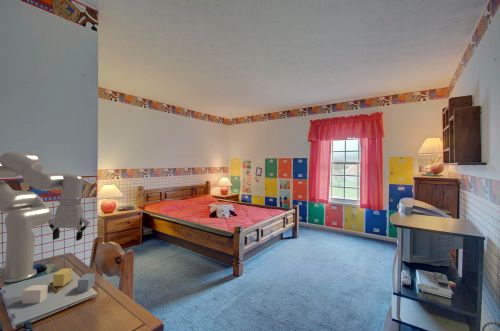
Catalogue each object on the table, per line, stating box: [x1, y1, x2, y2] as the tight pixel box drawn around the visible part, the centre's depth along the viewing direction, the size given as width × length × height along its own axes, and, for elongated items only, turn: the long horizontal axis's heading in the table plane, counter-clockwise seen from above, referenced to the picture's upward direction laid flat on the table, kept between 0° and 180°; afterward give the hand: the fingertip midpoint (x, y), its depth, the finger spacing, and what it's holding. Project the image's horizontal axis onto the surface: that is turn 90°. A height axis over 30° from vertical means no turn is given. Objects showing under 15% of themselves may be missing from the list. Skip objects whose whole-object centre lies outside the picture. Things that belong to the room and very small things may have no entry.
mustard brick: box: [52, 268, 73, 286], centre depth 104 cm, size 6×4×5 cm, turn 10°
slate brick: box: [76, 273, 96, 293], centre depth 103 cm, size 6×4×5 cm, turn 9°
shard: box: [48, 278, 74, 293], centre depth 103 cm, size 11×8×2 cm
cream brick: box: [21, 284, 49, 304], centre depth 92 cm, size 6×4×5 cm, turn 99°
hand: (67, 239), depth 107 cm, fingers open, 9 cm apart
